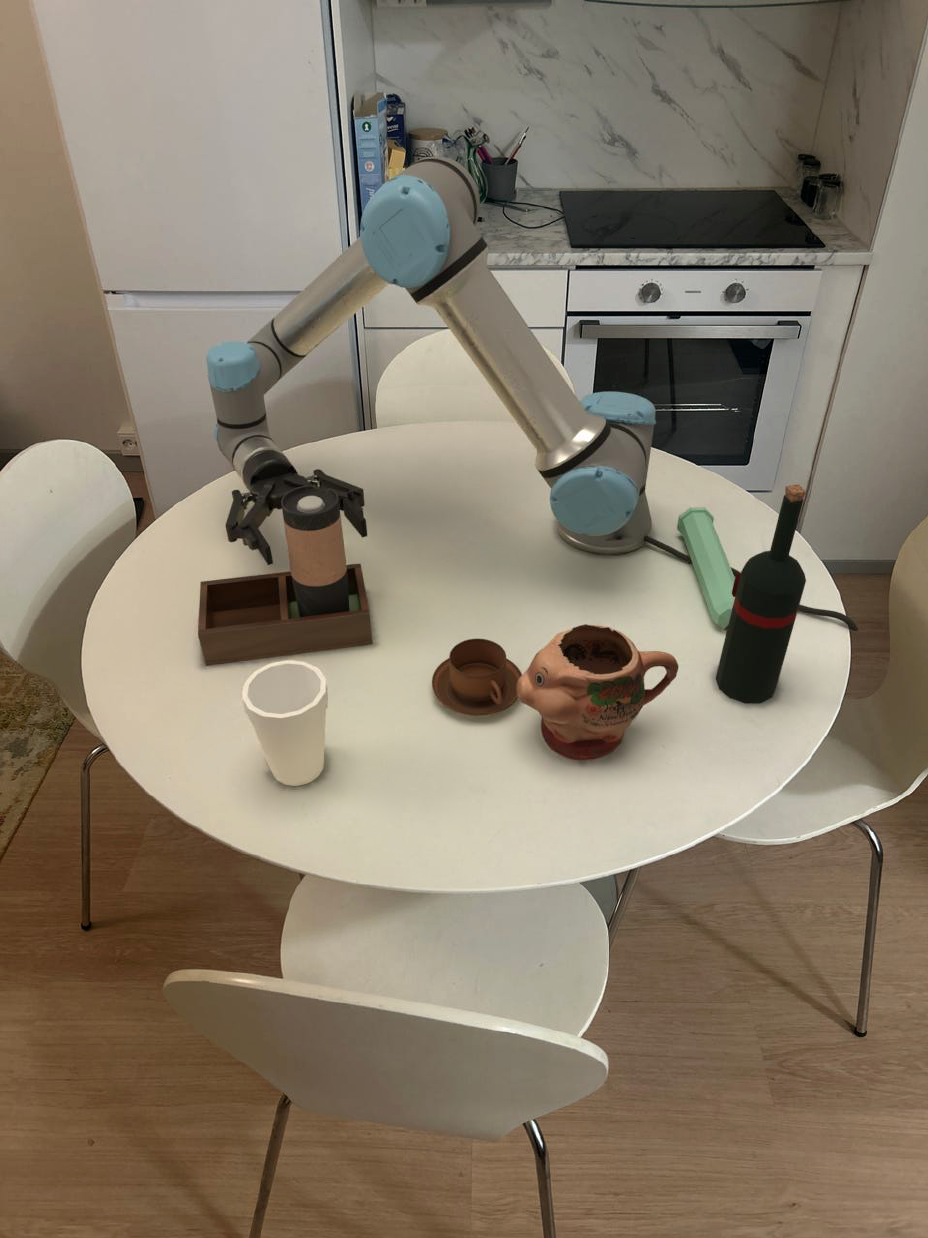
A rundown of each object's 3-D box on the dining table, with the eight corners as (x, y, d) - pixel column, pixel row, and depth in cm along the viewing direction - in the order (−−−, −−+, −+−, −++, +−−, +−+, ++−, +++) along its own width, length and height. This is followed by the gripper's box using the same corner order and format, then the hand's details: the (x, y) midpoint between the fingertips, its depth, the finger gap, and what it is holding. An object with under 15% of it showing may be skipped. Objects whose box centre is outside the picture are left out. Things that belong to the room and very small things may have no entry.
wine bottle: (748, 648, 128) (797, 457, 109) (787, 697, 120) (846, 501, 101) (697, 658, 126) (737, 466, 107) (733, 709, 118) (783, 512, 99)
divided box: (372, 644, 129) (369, 613, 125) (205, 665, 125) (197, 634, 122) (363, 593, 138) (360, 563, 134) (207, 611, 135) (200, 581, 131)
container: (749, 600, 126) (708, 501, 145) (706, 613, 128) (672, 513, 147) (757, 629, 130) (716, 529, 149) (716, 642, 131) (681, 541, 150)
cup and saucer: (541, 690, 121) (543, 655, 117) (480, 738, 114) (481, 703, 111) (474, 649, 128) (475, 615, 124) (413, 693, 121) (411, 658, 117)
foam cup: (262, 739, 114) (246, 662, 106) (337, 735, 115) (327, 657, 107) (255, 799, 107) (238, 720, 99) (335, 793, 108) (324, 715, 100)
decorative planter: (643, 684, 122) (657, 601, 113) (686, 748, 113) (704, 665, 104) (501, 714, 118) (504, 631, 109) (534, 784, 109) (539, 700, 100)
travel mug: (309, 641, 128) (291, 521, 115) (291, 611, 133) (272, 493, 121) (360, 625, 131) (348, 505, 118) (340, 596, 136) (327, 479, 123)
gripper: (345, 473, 145) (402, 540, 130) (189, 514, 135) (232, 591, 121) (341, 430, 140) (400, 494, 125) (178, 470, 131) (222, 544, 116)
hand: (317, 542), depth 123 cm, fingers open, 13 cm apart
